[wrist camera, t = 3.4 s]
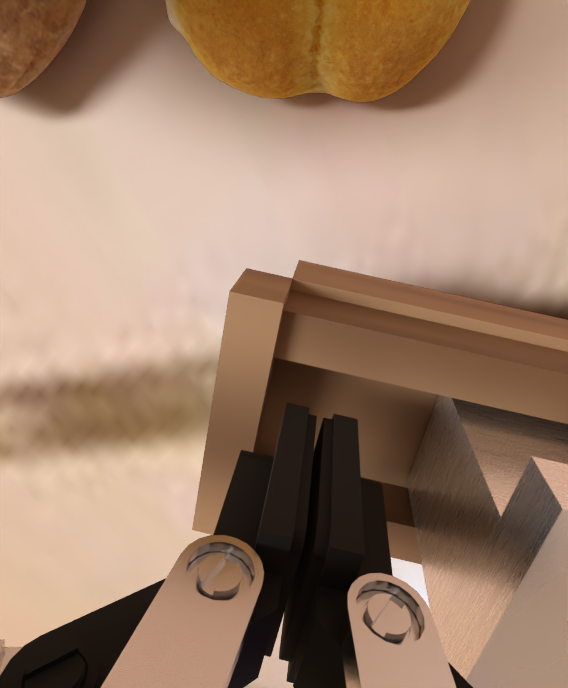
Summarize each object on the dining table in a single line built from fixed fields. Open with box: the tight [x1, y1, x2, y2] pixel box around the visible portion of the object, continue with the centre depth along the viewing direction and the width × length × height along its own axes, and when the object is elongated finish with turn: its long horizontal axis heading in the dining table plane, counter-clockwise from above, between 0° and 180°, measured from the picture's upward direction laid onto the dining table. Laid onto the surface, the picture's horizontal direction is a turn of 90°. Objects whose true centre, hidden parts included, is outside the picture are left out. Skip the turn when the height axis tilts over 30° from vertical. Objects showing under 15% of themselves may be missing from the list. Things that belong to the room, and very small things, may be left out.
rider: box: [407, 395, 568, 688], centre depth 11 cm, size 6×4×6 cm, turn 169°
